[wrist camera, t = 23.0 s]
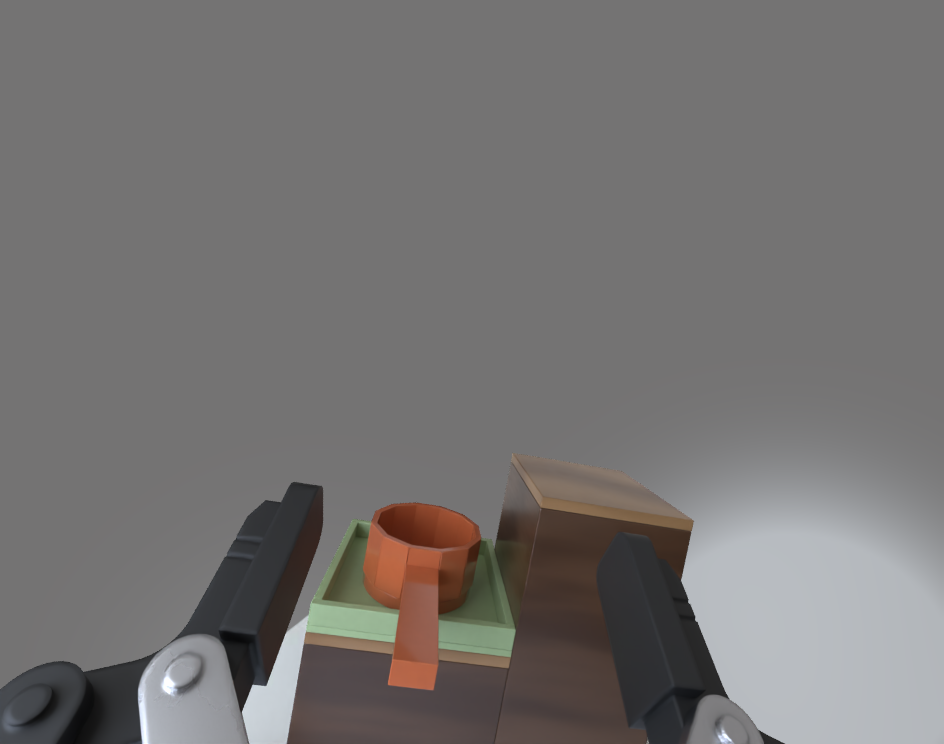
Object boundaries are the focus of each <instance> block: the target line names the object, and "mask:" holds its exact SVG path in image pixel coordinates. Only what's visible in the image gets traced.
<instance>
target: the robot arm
mask: <svg viewBox="0 0 944 744" xmlns="http://www.w3.org/2000/svg"><path fill="white" fill-rule="evenodd" d="M322 526H323V487H322V486H317V485H310V484H303V483H297V482H293V483H291V485H290V486H289V488H288V490H287V492H286V494H285V496H284V498H283V500H282V502H273V501H267V500H266V501H264V502H263V503H262V504H261V505H260V506H259V507H258V508H257V509H255V510H254V511H253V512H252V513H251V514H250V515H249V516H248V517H247V519H246V520H245V522H244V524H243V526H242V528H241V529H240V531H239V533H238V535H237V538H236V540H235V541H234V542H233V544H232V545H231V547H230V549H229V551H228V553H227V556H226V557H225V558H224V560H223V562H222V563H221V565H220V567H219V569H218V571H217V572H216V574H215V576H214V578H213V580H212V581H211V583H210V585H209V587H208V588H207V590H206V592H205V594H204V596H203V598H202V599H201V601H200V603H199V605H198V607H197V608H196V610H195V612H194V614H193V615H192V617H191V619H190V621H189V622H188V624H187V625H186V627H185V628H184V629H183V631H182V632H181V633H180V634H179V635H178V636H177V637H176V638H175V639H174V640H173V641H171V642H170V643H169V644H168V645H167V646H165V647H164V648H162V649H161V650H159V651H157V652H155V653H153V654H152V655H150V656H147V657H145V658H142V659H139V660H135V661H132V662H127V663H123V664H118V665H114V666H109V667H104V668H100V669H96V670H91V671H86V672H83V671H82V670H81V668H79V667H78V666H77V665H75V664H73V663H70V662H64V661H58V662H51V663H46V664H43V665H40V666H37V667H35V668H32V669H30V670H28V671H26V672H24V673H22V674H21V675H19V676H17V677H16V678H15V679H13V680H12V681H10V682H9V683H8V684H7V685H6V686H4V687H3V688H2V689H0V744H249V741H248V737H247V733H246V728H245V724H244V720H243V716H242V710H243V708H244V705H245V703H246V700H247V697H248V695H249V692H250V690H251V687H252V685H261V686H266V685H267V683H268V680H269V677H270V674H271V672H272V669H273V666H274V663H275V661H276V658H277V655H278V653H279V650H280V647H281V644H282V642H283V639H284V636H285V634H286V631H287V628H288V625H289V623H290V620H291V617H292V614H293V612H294V609H295V606H296V604H297V601H298V598H299V596H300V593H301V590H302V587H303V585H304V582H305V579H306V577H307V574H308V571H309V568H310V566H311V563H312V560H313V558H314V555H315V552H316V549H317V546H318V543H319V540H320V536H321V532H322ZM596 582H597V588H598V593H599V597H600V601H601V606H602V610H603V615H604V619H605V624H606V628H607V633H608V637H609V642H610V646H611V651H612V655H613V660H614V664H615V668H616V673H617V677H618V682H619V686H620V691H621V695H622V700H623V704H624V709H625V713H626V718H627V722H628V727H629V728H633V729H642V730H646V732H647V736H648V740H649V744H784V743H782V742H780V741H778V740H776V739H774V738H772V737H770V736H768V735H766V734H764V733H763V732H761V731H759V730H758V729H757V727H756V726H755V724H754V723H753V721H752V720H751V719H750V717H749V716H748V715H747V714H746V713H745V712H744V711H743V710H742V709H741V708H740V707H739V706H738V705H737V704H735V703H734V702H732V701H731V700H730V699H729V698H728V696H727V694H726V692H725V690H724V688H723V686H722V683H721V681H720V678H719V675H718V673H717V671H716V668H715V665H714V663H713V660H712V658H711V655H710V653H709V650H708V648H707V645H706V643H705V640H704V638H703V635H702V633H701V630H700V628H699V625H698V622H696V621H695V615H694V612H693V610H692V607H691V605H690V604H689V603H688V597H687V595H686V592H685V590H684V587H683V585H682V582H681V580H680V578H679V577H678V575H677V574H676V573H675V571H674V570H673V569H672V567H671V566H670V565H669V563H668V562H667V561H666V560H665V559H658V557H657V555H656V552H655V549H654V546H653V544H652V542H651V540H650V538H649V537H647V536H645V535H638V534H631V533H625V532H618V533H617V534H616V535H615V537H614V538H613V540H612V542H611V543H610V545H609V547H608V548H607V550H606V552H605V553H604V555H603V556H602V558H601V560H600V561H599V564H598V567H597V573H596Z"/></svg>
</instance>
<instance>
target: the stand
mask: <svg viewBox="0 0 944 744" xmlns="http://www.w3.org/2000/svg"><path fill="white" fill-rule="evenodd" d="M511 461H512V462H511V466H510V470H509V476H508V481H507V486H506V492H505V497H504V502H503V507H502V512H501V518H500V523H499V529H498V533H497V539H496V544H495V549H494V550H495V554H496V557H497V561H498V565H499V569H500V572H501V576H502V580H503V584H504V587H505V591H506V595H507V598H508V602H509V606H510V610H511V613H512V617H513V621H514V624H515V629H516V633H515V638H514V643H513V648H512V653H511V657H504V656H496V655H488V654H480V653H472V652H464V651H456V650H448V649H440V648H439V666H438V671H437V677H436V682H435V687H434V690H425V689H416V688H408V687H399V686H390V685H388V678H389V672H390V665H391V659H392V652H393V645H394V643H392V642H384V641H376V640H368V639H360V638H352V637H344V636H336V635H328V634H320V633H312V632H306V634H305V640H304V646H303V652H302V658H301V664H300V670H299V675H298V681H297V687H296V693H295V699H294V704H293V710H292V716H291V722H290V728H289V733H288V739H287V744H646V743H647V738H648V736H647V732H646V730H642V729H633V728H629V727H628V722H627V718H626V713H625V709H624V704H623V700H622V695H621V691H620V686H619V682H618V677H617V673H616V668H615V664H614V660H613V655H612V651H611V646H610V642H609V637H608V633H607V628H606V624H605V619H604V615H603V610H602V606H601V601H600V597H599V593H598V588H597V582H596V573H597V567H598V564H599V561H600V560H601V558H602V556H603V555H604V553H605V552H606V550H607V548H608V547H609V545H610V543H611V542H612V540H613V538H614V537H615V535H616V534H617V533H618V532H625V533H631V534H638V535H645V536H647V537H649V538H650V540H651V542H652V544H653V546H654V549H655V552H656V555H657V557H658V559H665V560H666V561H667V562H668V563H669V565H670V566H671V567H672V569H673V570H674V571H675V573H676V574H677V575H678V577H679V578H680V580H681V578H682V574H683V569H684V564H685V559H686V555H687V550H688V545H689V540H690V536H691V531H692V527H693V522H694V521H693V520H692V519H691V518H689V517H688V516H686V515H685V514H683V513H682V512H680V511H679V510H677V509H676V508H675V507H673V506H672V505H670V504H669V503H667V502H666V501H664V500H663V499H661V498H660V497H659V496H657V495H656V494H654V493H653V492H651V491H650V490H648V489H647V488H645V487H644V486H643V485H641V484H640V483H638V482H637V481H635V480H634V479H632V478H631V477H629V476H628V475H627V474H625V473H624V472H622V471H618V470H612V469H606V468H600V467H594V466H587V465H582V464H576V463H570V462H564V461H557V460H552V459H546V458H540V457H534V456H528V455H522V454H515V453H513V455H512V460H511Z"/></svg>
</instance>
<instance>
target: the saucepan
mask: <svg viewBox="0 0 944 744" xmlns="http://www.w3.org/2000/svg"><path fill="white" fill-rule="evenodd" d="M480 544H481V534H480V530H479V526H478V525H477V524H475V523H474V522H473V521H471V520H470V519H469V518H467V517H466V516H465V515H463V514H460V513H458V512H455V511H452V510H450V509H447V508H444V507H441V506H435V505H429V504H422V503H400V504H391V505H389V506H386V507H384V508H381V509H379V510H376V511H375V514H374V516H373V519H372V521H371V526H370V531H369V537H368V543H367V548H366V554H365V560H364V565H363V577H362V580H363V585H364V588H365V589H366V591H367V592H368V594H369V595H370V596H371V597H372V598H373V599H374V600H376V601H377V602H378V603H380V604H382V605H384V606H386V607H388V608H390V609H397V610H399V612H398V619H397V626H396V632H395V639H394V645H393V652H392V659H391V665H390V672H389V678H388V685H390V686H399V687H408V688H416V689H425V690H434V687H435V682H436V677H437V671H438V666H439V615H440V614H445V613H448V612H451V611H453V610H456V609H457V608H459V607H460V606H462V605H463V604H464V603H465V602H466V600H467V599H468V597H469V593H470V588H471V586H472V585H473V581H474V575H475V570H476V565H477V560H478V554H479V549H480Z"/></svg>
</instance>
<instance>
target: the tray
mask: <svg viewBox="0 0 944 744" xmlns="http://www.w3.org/2000/svg"><path fill="white" fill-rule="evenodd" d="M370 526H371V522H370V521H364V520H358V519H353V520H352V522H351V524H350V526H349V528H348V530H347V532H346V534H345V536H344V538H343V540H342V542H341V544H340V547H339V548H338V550H337V552H336V554H335V556H334V558H333V560H332V562H331V564H330V566H329V568H328V570H327V572H326V574H325V576H324V578H323V580H322V582H321V584H320V586H319V588H318V590H317V592H316V594H315V596H314V599H313V600H312V603H311V605H310V611H309V617H308V623H307V628H306V632H312V633H320V634H328V635H336V636H344V637H352V638H360V639H368V640H376V641H384V642H392V643H394V639H395V632H396V626H397V619H398V612H399V610H397V609H390V608H388V607H386V606H384V605H382V604H380V603H378V602H377V601H376V600H374V599H373V598H372V597H371V596H370V595H369V594H368V592H367V591H366V589H365V588H364V585H363V580H362V577H363V565H364V560H365V554H366V548H367V543H368V537H369V531H370ZM515 633H516V629H515V624H514V621H513V617H512V613H511V610H510V606H509V602H508V598H507V595H506V591H505V587H504V584H503V580H502V576H501V572H500V569H499V565H498V561H497V557H496V554H495V550H494V546H493V543H492V540H491V539H486V538H481V544H480V549H479V554H478V560H477V565H476V570H475V575H474V581H473V585H472V586H471V588H470V593H469V597H468V599H467V600H466V602H465V603H464V604H463V605H462V606H460V607H459V608H457V609H456V610H453V611H451V612H448V613H445V614H440V615H439V648H440V649H448V650H456V651H464V652H472V653H480V654H488V655H496V656H504V657H511V653H512V648H513V643H514V638H515Z"/></svg>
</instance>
